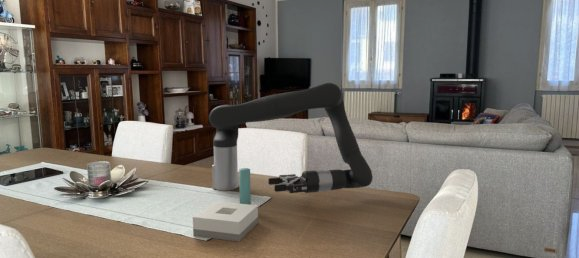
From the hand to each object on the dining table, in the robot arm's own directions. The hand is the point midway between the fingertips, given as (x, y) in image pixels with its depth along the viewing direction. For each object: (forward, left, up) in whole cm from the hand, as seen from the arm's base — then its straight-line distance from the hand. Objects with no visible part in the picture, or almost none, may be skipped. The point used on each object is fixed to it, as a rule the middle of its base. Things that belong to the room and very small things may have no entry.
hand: (271, 184), depth 130 cm
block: (-7, -21, -8) cm, 23 cm away
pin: (-8, -5, -8) cm, 12 cm away
